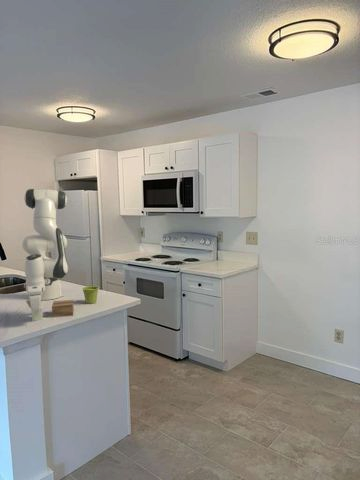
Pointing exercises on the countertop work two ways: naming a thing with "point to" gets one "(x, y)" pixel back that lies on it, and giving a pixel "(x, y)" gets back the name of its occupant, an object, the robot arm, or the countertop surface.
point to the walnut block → (62, 308)
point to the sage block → (38, 316)
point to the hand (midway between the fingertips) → (37, 314)
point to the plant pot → (90, 294)
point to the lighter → (29, 303)
